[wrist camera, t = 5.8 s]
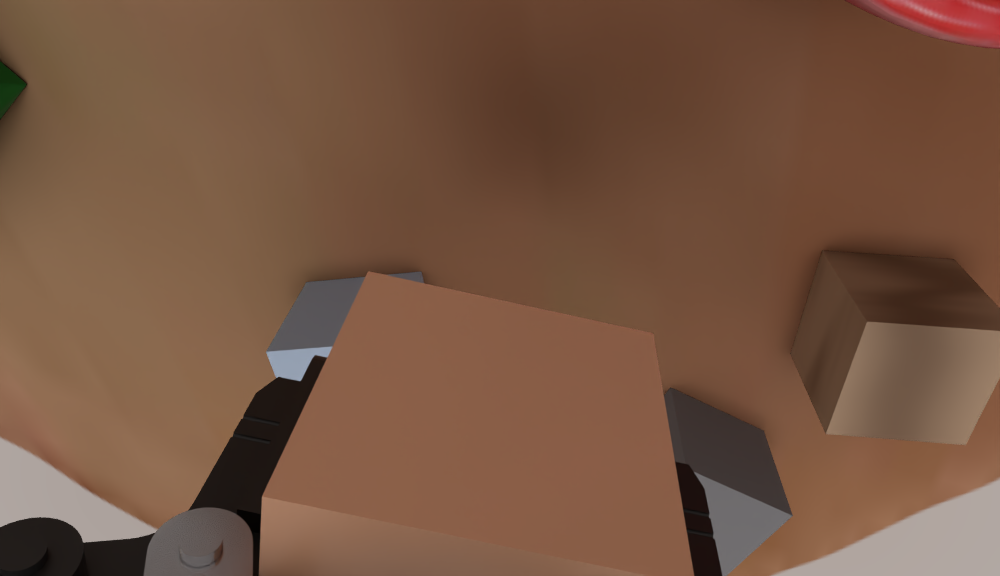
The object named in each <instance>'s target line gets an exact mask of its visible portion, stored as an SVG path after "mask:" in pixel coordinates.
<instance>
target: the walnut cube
mask: <svg viewBox="0 0 1000 576" xmlns="http://www.w3.org/2000/svg"><path fill="white" fill-rule="evenodd" d="M790 354H791V356H792V359H793V361H794V363H795V365H796V368H797V370H798V372H799V374H800V377H801V379H802V381H803V383H804V386H805V388H806V390H807V392H808V395H809V397H810V399H811V402H812V404H813V406H814V408H815V411H816V413H817V415H818V417H819V420H820V422H821V424H822V426H823V429H824V431H825V433H826V434H832V435H845V436H857V437H870V438H883V439H896V440H908V441H921V442H934V443H947V444H960V445H966V443H967V441H968V439H969V437H970V435H971V433H972V431H973V429H974V427H975V425H976V423H977V421H978V419H979V417H980V415H981V413H982V411H983V409H984V407H985V406H986V404H987V402H988V400H989V398H990V396H991V394H992V392H993V390H994V388H995V386H996V384H997V382H998V380H999V378H1000V308H999V307H998V306H997V305H996V304H995V303H994V302H993V301H992V299H991V298H990V297H989V296H988V295H987V294H986V293H985V292H984V291H983V290H982V289H981V288H980V287H979V286H978V284H977V283H976V282H975V281H974V280H973V279H972V278H971V277H970V276H969V275H968V274H967V273H966V272H965V271H964V269H963V268H962V267H961V266H960V265H959V264H958V263H957V262H956V261H955V260H954V259H944V258H928V257H913V256H898V255H883V254H868V253H853V252H838V251H823V250H822V253H821V256H820V259H819V262H818V266H817V269H816V272H815V275H814V279H813V282H812V285H811V288H810V292H809V295H808V298H807V301H806V305H805V308H804V311H803V314H802V318H801V321H800V324H799V327H798V331H797V334H796V337H795V340H794V344H793V347H792V350H791V353H790Z"/></svg>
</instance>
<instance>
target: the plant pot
mask: <svg viewBox="0 0 1000 576" xmlns="http://www.w3.org/2000/svg"><path fill="white" fill-rule="evenodd" d="M845 1H847V2H849V3H851V4H853V5H855V6H857V7H859V8H861V9H862V10H864V11H866V12H868V13H871V14H873V15H875V16H877V17H879V18H882V19H884V20H886V21H889V22H891V23H893V24H896V25H898V26H901V27H904V28H906V29H909V30H912V31H915V32H918V33H921V34H924V35H926V36H929V37H933V38H937V39H941V40H945V41H950V42H954V43H958V44H965V45H971V46H977V47H983V48H998V49H1000V0H845Z"/></svg>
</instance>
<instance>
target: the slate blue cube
mask: <svg viewBox="0 0 1000 576" xmlns="http://www.w3.org/2000/svg"><path fill="white" fill-rule="evenodd" d="M388 276H393V277H397V278H402V279H407V280H411V281H416V282H420V283H424V281H423V276H422V272H411V273H400V274H390V275H388ZM364 279H365V277H357V278H347V279H336V280H325V281H314V282H306V284H305V286H304V287H303V289H302V291H301V293H300V294H299V296H298V298H297V299H296V301H295V303H294V305H293V306H292V308H291V310H290V311H289V313H288V315H287V317H286V318H285V320H284V322H283V324H282V325H281V327H280V329H279V330H278V332H277V334H276V336H275V337H274V339H273V341H272V343H271V344H270V346H269V348H268V349H267V351H266V353H267V355H268V358H269V361H270V363H271V366H272V368H273V371H274V374H275V376H276V378H277V377H282V378H287V379H292V380H297V381H301V380H302V378H303V376H304V374H305V372H306V370H307V368H308V366H309V364H310V362H311V360H312V358H313V357H314V356H315V355H318V356H323V357H328V355H329V353H330V351H331V349H332V347H333V345H334V343H335V340H336V338H337V336H338V334H339V332H340V330H341V328H342V326H343V323H344V321H345V319H346V317H347V315H348V313H349V311H350V309H351V306H352V304H353V302H354V300H355V298H356V296H357V294H358V292H359V289H360V287H361V285H362V283H363V281H364Z"/></svg>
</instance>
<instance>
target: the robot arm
mask: <svg viewBox="0 0 1000 576" xmlns="http://www.w3.org/2000/svg"><path fill="white" fill-rule="evenodd" d="M326 359H327V357H323V356H318V355H315V356H314V357H313V358H312V360H311V362H310V364H309V366H308V368H307V370H306V372H305V374H304V376H303V378H302V380H301V381H297V380H292V379H287V378H282V377H277V378H276V379H275V380H273V381H272V382H271V383H269V384H268V385H267V386H265V387H264V388H262V389H261V390H260V391H258V392H257V393H256V394H255V396H254V398H253V400H252V401H251V403H250V405H249V407H248V408H247V410H246V412H245V414H244V417H243V419H241V421H240V422H239V424H238V426H237V428H236V429H235V431H234V434H233V437H231V438H230V440H229V442H228V443H227V445H226V447H225V449H224V450H223V452H222V454H221V456H220V457H219V459H218V461H217V463H216V464H215V466H214V468H213V470H212V471H211V473H210V475H209V477H208V478H207V480H206V482H205V484H204V486H203V487H202V489H201V491H200V493H199V494H198V496H197V498H196V500H195V501H194V503H193V504H192V506H191V507H190V509H189V510H188V511H186V512H183V513H181V514H178V515H177V516H175V517H173V518H171V519H170V520H168V521H167V522H166V523H164V524H163V525H162V526H161V527H160V528H159V529H158V530H157V531H156V533H153V534H150V535H147V536H143V537H139V538H132V539H123V540H111V541H98V542H86V543H83V541H82V538H81V536H80V534H79V533H78V531H77V530H76V529H75V528H74V527H73V526H71V525H69V524H68V523H66V522H64V521H61V520H58V519H53V518H41V517H39V518H29V519H24V520H19V521H16V522H13V523H9V524H7V525H5V526H2V527H0V576H259V557H260V533H261V508H262V495H263V493H264V491H265V489H266V487H267V485H268V483H269V480H270V478H271V476H272V474H273V472H274V470H275V468H276V466H277V463H278V461H279V459H280V457H281V455H282V453H283V451H284V449H285V447H286V444H287V442H288V440H289V438H290V436H291V434H292V432H293V430H294V427H295V425H296V423H297V421H298V419H299V417H300V415H301V413H302V410H303V408H304V406H305V404H306V402H307V400H308V398H309V396H310V393H311V391H312V389H313V387H314V385H315V383H316V381H317V379H318V376H319V374H320V372H321V370H322V368H323V366H324V364H325V362H326ZM675 465H676V471H677V477H678V483H679V489H680V495H681V501H682V507H683V513H684V518H685V524H686V530H687V536H688V542H689V548H690V554H691V560H692V566H693V572H694V576H722V571H721V566H720V561H719V556H718V552H717V547H716V542H715V539H713V535H714V532H713V527H712V522H711V518H709V514H710V513H709V508H708V503H707V498H706V493H705V489H704V487H703V485H702V484H701V482H700V481H699V479H698V478H697V476H696V475H695V473H694V472H693V470H692V468H691V467H690V465H689V464H684V463H680V462H675Z"/></svg>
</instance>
